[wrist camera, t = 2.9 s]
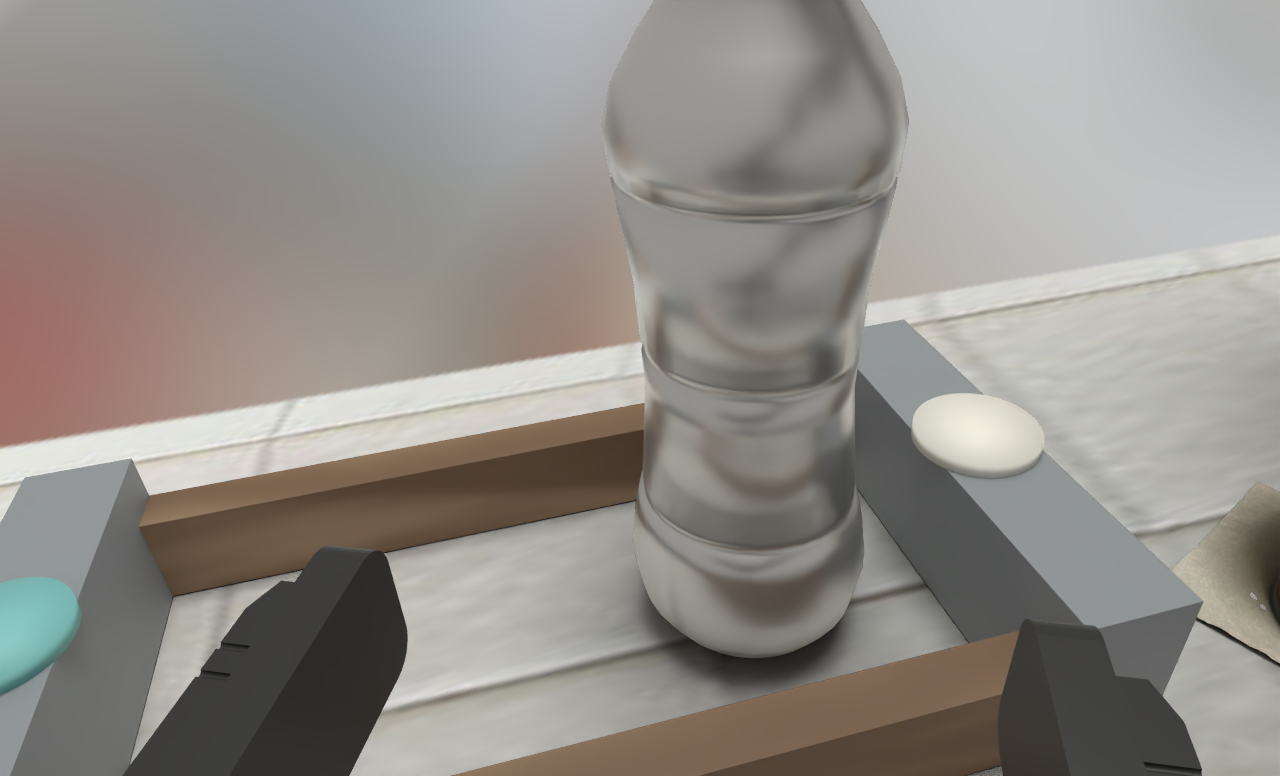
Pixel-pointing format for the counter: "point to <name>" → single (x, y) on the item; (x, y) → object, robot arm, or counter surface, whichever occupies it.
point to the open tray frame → (558, 485)
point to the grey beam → (1002, 513)
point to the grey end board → (76, 622)
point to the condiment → (1241, 571)
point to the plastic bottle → (752, 301)
